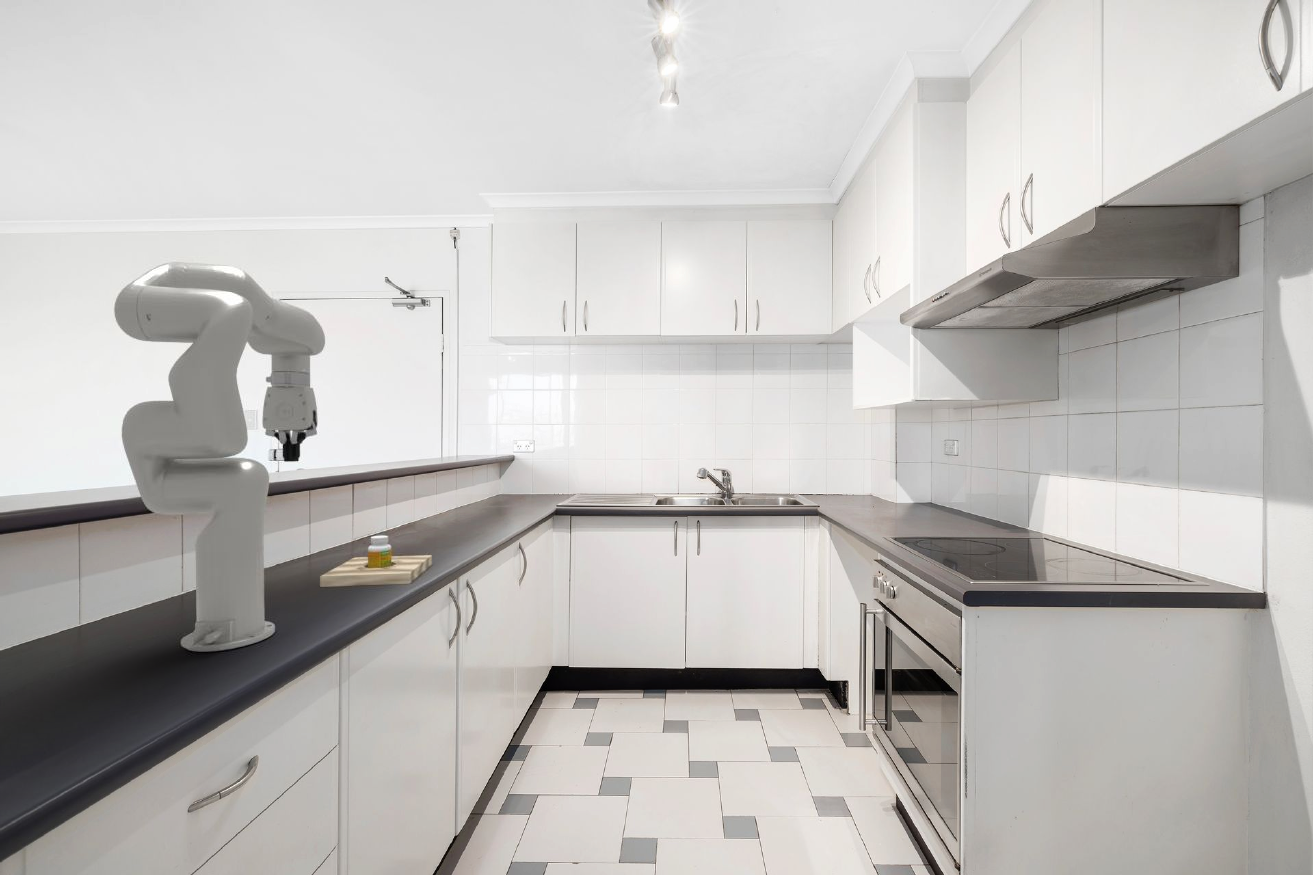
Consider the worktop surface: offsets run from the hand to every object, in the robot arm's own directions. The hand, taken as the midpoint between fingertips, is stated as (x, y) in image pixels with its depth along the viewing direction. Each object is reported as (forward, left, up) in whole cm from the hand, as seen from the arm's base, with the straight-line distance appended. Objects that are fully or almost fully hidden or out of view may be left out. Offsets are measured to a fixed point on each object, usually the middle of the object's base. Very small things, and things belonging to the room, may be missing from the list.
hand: (291, 461), depth 131 cm
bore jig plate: (+11, -15, -30) cm, 35 cm away
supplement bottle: (+11, -15, -30) cm, 35 cm away
